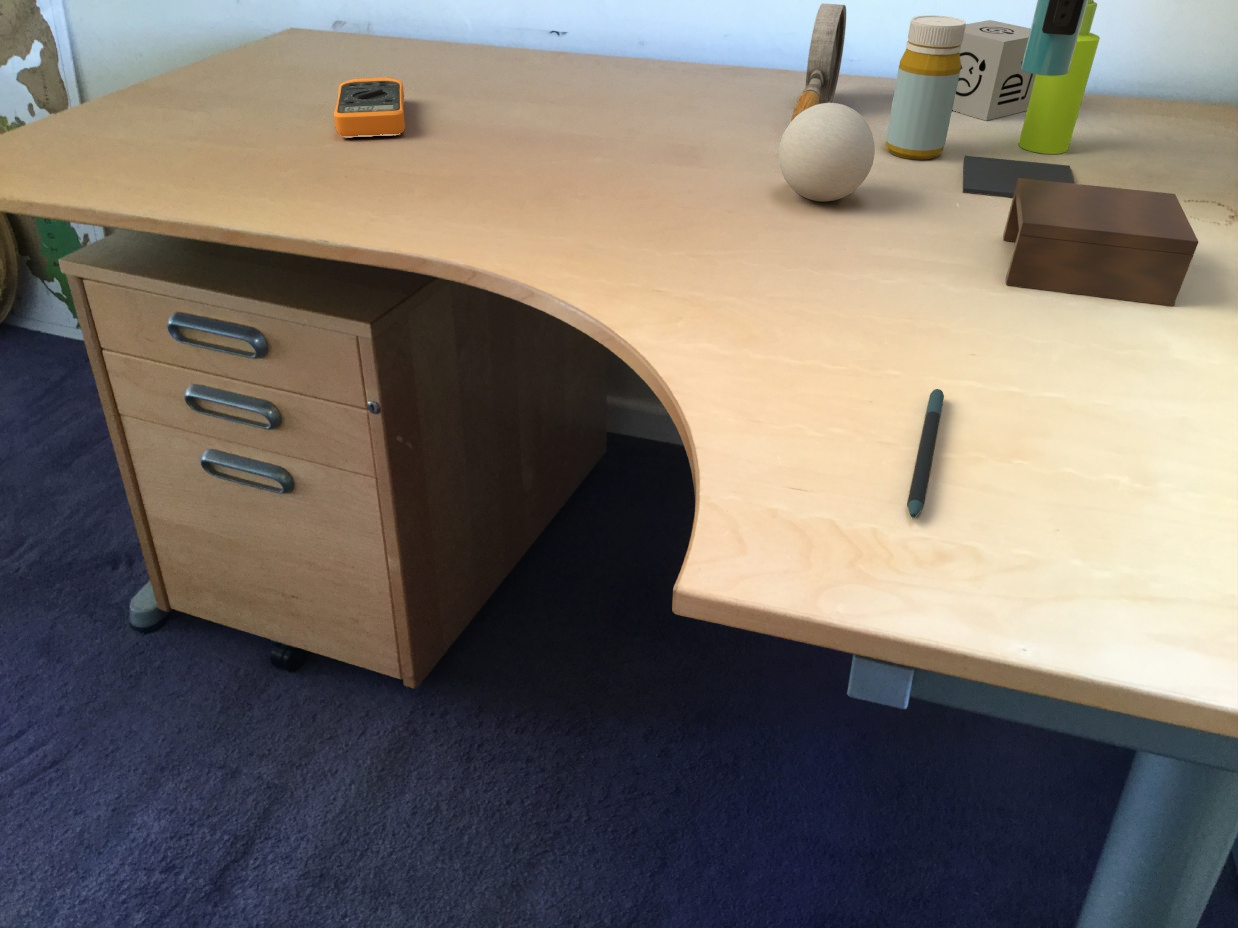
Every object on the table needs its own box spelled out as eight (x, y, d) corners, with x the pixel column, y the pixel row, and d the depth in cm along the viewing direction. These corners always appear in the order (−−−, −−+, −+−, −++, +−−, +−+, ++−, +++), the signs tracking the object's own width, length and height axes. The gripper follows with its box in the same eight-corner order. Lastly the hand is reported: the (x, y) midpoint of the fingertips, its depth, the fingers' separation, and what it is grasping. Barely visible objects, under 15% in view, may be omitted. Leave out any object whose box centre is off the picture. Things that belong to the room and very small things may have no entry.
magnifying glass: (814, 84, 114) (849, -13, 128) (789, 82, 115) (827, -14, 129) (807, 176, 124) (840, 77, 138) (784, 173, 125) (819, 75, 139)
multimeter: (405, 100, 134) (402, 75, 132) (406, 138, 120) (402, 110, 118) (343, 103, 132) (339, 77, 130) (337, 142, 118) (332, 113, 116)
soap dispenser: (1061, 159, 115) (1112, -23, 103) (1009, 146, 119) (1053, -31, 107) (1084, 149, 118) (1137, -29, 106) (1033, 136, 122) (1078, -36, 110)
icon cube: (1032, 109, 132) (1051, 33, 126) (986, 120, 128) (1004, 42, 122) (974, 93, 139) (990, 20, 133) (928, 103, 134) (943, 28, 129)
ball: (764, 207, 101) (773, 111, 95) (785, 178, 108) (796, 88, 103) (857, 221, 98) (873, 123, 92) (873, 190, 106) (889, 97, 100)
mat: (1068, 169, 112) (1069, 165, 111) (1077, 204, 102) (1078, 200, 102) (963, 159, 114) (964, 155, 114) (962, 192, 105) (963, 188, 105)
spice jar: (1067, 67, 103) (1094, -31, 97) (1070, 78, 99) (1099, -24, 93) (1019, 63, 104) (1042, -34, 98) (1020, 74, 100) (1045, -27, 94)
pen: (902, 524, 58) (905, 509, 57) (928, 398, 70) (931, 384, 69) (919, 528, 58) (923, 513, 57) (943, 401, 69) (946, 387, 69)
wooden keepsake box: (1153, 253, 92) (1175, 193, 88) (1173, 306, 82) (1199, 241, 79) (1002, 236, 95) (1017, 177, 91) (1005, 285, 86) (1022, 222, 82)
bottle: (873, 147, 118) (894, 17, 109) (918, 140, 120) (943, 13, 112) (907, 164, 113) (933, 29, 104) (954, 157, 115) (983, 24, 106)
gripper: (1169, -178, 81) (1102, 49, 91) (1141, -183, 94) (1086, 15, 105) (1075, -180, 82) (1021, 43, 93) (1061, -184, 96) (1015, 11, 106)
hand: (1056, 26), depth 99 cm, fingers closed on spice jar, 4 cm apart
